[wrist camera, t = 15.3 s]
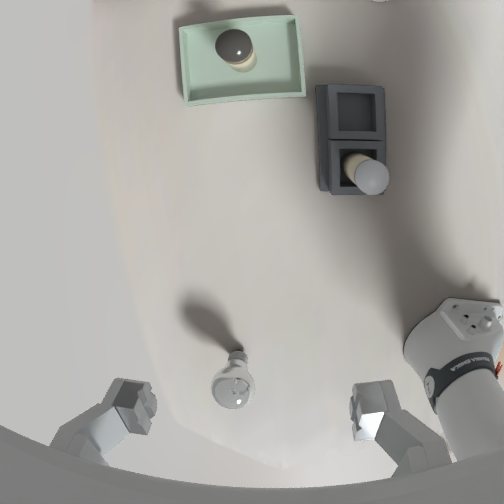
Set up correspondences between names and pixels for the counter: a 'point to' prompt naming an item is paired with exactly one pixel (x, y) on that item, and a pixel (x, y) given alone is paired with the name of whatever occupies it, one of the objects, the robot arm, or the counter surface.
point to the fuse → (365, 172)
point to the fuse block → (348, 131)
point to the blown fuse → (236, 50)
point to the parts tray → (248, 83)
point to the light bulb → (233, 383)
